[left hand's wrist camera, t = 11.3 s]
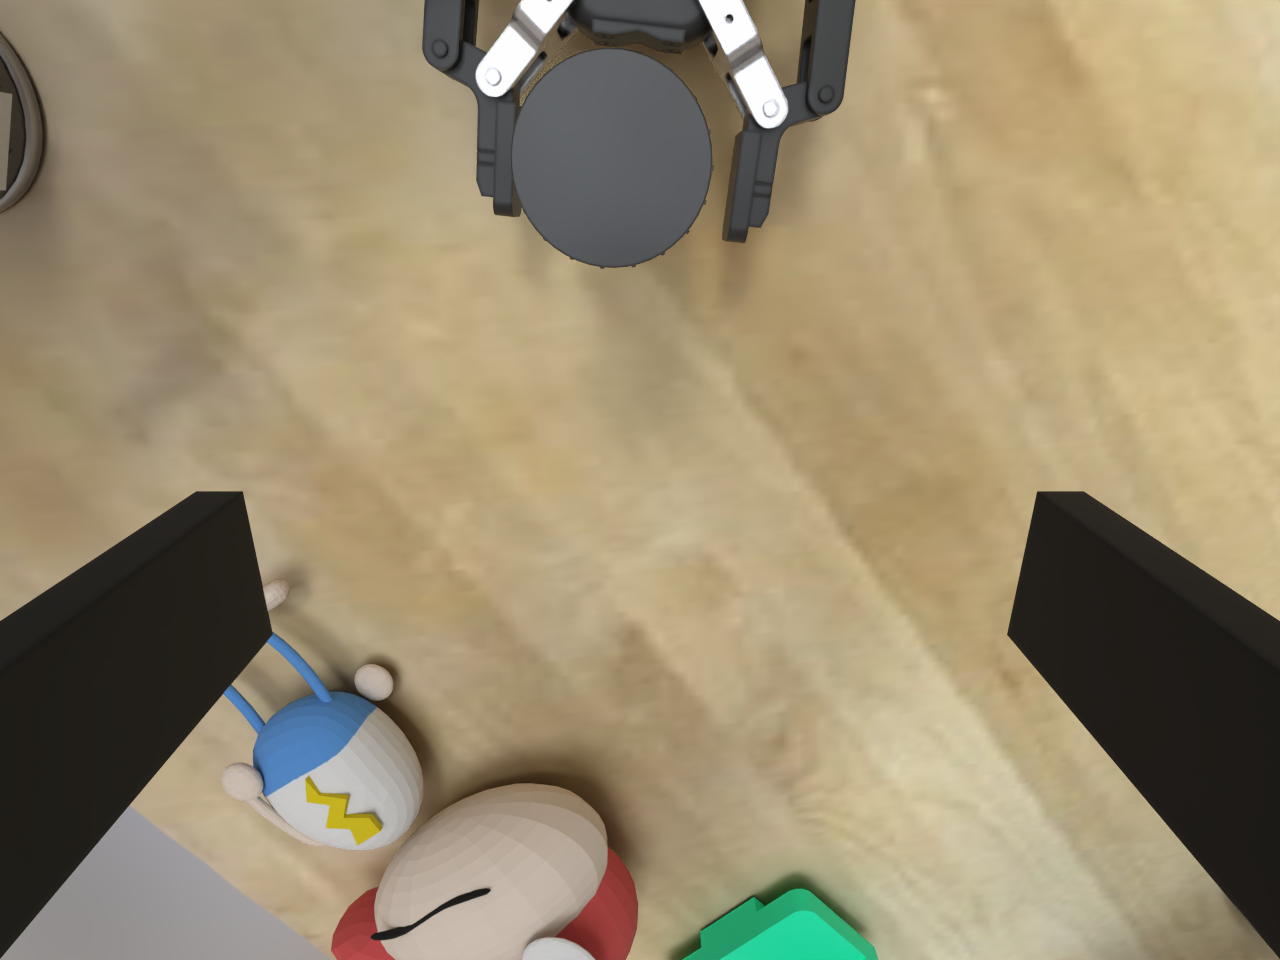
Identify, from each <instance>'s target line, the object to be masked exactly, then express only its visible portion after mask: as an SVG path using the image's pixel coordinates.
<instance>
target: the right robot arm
mask: <svg viewBox="0 0 1280 960" xmlns="http://www.w3.org/2000/svg"><path fill="white" fill-rule="evenodd" d="M478 7H479V0H425V6H424V25H423V44H422V49H423V54H424V57H425V58H426V60H427V61H428V63H429V64H430V65H432V66H433V67H434V68H436V69H438V70H439V71H441V72H442V73H444V74H445V75H447V76H448V77H450V78H451V79H454V80H456V81H458V82H460V83H462V84H464V85H466V86H467V87H469V88H470V89H471V90H472V91H473V93H474V94H475V96H476V99H477V103H478V135H477V179H476V181H477V184H478V187H479V190H480V193H481V195H482V196H487V197H493V209H494V214H495V215H501V216H510V217H519V216H520V214H521V208H522V206H521V204H520V201H519V199H518V196H517V194H516V190H515V186H514V182H513V177H512V170H511V143H512V135H513V131H514V127H515V122H516V120H517V117H518V114H519V112H520V109H521V106H519V105H520V98H521V96H522V95H523V94H524V93H525V91H526V90H527V89H528V87H529V86H530V85H531V84H532V82H533V81H534V80H535V79H536V77H537V76H538V75H539V73H540V72H541V71H542V70H543V68H544V67H545V66H546V65H547V64H548V63H549V62H550V61H552V60H553V59H554V58H555V57H556V56H557V55H558V54H559V53H560V51H561V50H562V49H563V47H564V46H565V45H566V44H567V42H568V41H569V40H570V39H571V37H572V36H573V35H574V33H575V32H576V31H577V30H578V29H579V30H580V31H581V32H582V33H583V34H584V35H586V36H587V37H589V38H591V39H593V40H594V41H595V44H598V45H606V46H615V47H618V46H623V45H629V44H634V43H641V44H644V45H646V46H648V47H650V48H653V49H655V50H657V51H660V52H666V53H675V54H681V53H682V50H687V49H690V48H693V47H695V46H697V45H698V44H700V43H702V45H703V47H704V49H705V51H706V53H707V55H708V57H709V59H710V61H711V63H712V65H713V66H714V68H715V70H716V72H717V74H718V76H719V77H720V79H721V80H722V81H723V82H724V84H725V86H726V87H727V89H728V91H729V93H730V95H731V97H732V99H733V101H734V103H735V105H736V107H737V109H738V111H739V113H740V115H741V117H742V119H743V121H744V122H743V129H742V131H741V132H740V133H738V134H737V135H736V136H735V144H734V151H733V158H732V166H731V173H730V180H729V188H728V195H727V203H726V210H725V217H724V225H723V234H722V239H723V240H724V241H729V242H738V243H745V241H746V238H747V233H748V227H749V226H750V227H759V228H761V226H762V224H763V222H764V221H765V219H766V217H767V215H768V212H769V206H770V199H771V193H772V185H773V180H774V173H775V167H776V160H777V154H778V148H779V142H780V139H781V136H782V135H783V133H784V132H785V130H786V129H787V128H788V127H790V126H794V125H798V124H801V123H805V122H812V121H815V120H818V119H820V118H821V117H823V116H824V115H828V114H830V113H832V112H834V111H835V110H836V109H837V108H838V107H839V106H840V104H841V102H842V100H843V95H844V87H845V79H846V71H847V63H848V55H849V47H850V39H851V31H852V23H853V15H854V7H855V0H805V9H804V18H803V28H802V38H801V47H800V57H799V66H798V76H797V84H794V85H790V86H786V87H783V88H781V87H780V85H779V83H778V80H777V78H776V76H775V74H774V72H773V70H772V68H771V66H770V64H769V62H768V60H767V58H766V56H765V53H764V51H763V46H762V41H761V38H760V36H759V33H758V31H757V29H756V27H755V25H754V23H753V21H752V19H751V17H750V15H749V12H748V10H747V8H746V6H745V4H744V2H743V0H550V2H548V0H521V2H520V3H519V5H518V6H517V8H516V9H515V11H514V13H513V16H512V20H511V22H510V23H509V25H508V26H507V28H506V29H505V30H504V31H503V33H502V34H501V35H500V37H499V38H498V39H497V41H496V42H495V43H494V45H493V46H492V47H491V49H490V50H489V51H488V53H486V52H484V51H482V50H480V49H479V48H477V47H475V46H476V33H477V20H478ZM562 20H563V21H562ZM561 21H562V22H561ZM42 142H43V136H42V122H41V115H40V111H39V106H38V102H37V99H36V96H35V92H34V90H33V87H32V85H31V82H30V80H29V78H28V76H27V74H26V71H25V69H24V68H23V66H22V64H21V62H20V61H19V59H18V57H17V56H16V54H15V53H14V51H13V50H12V48H11V47H10V45H9V44H8V43H7V42H6V40H5V39H4V38H3V36H2V35H1V34H0V212H2V211H4V210H6V209H8V208H9V207H11V206H12V205H13V204H14V203H16V202H17V201H18V200H19V199H20V198H21V197H22V196H23V195H24V194H25V192H26V191H27V190H28V188H29V187H30V185H31V183H32V181H33V180H34V177H35V175H36V173H37V170H38V167H39V163H40V159H41V153H42Z"/></svg>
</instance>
